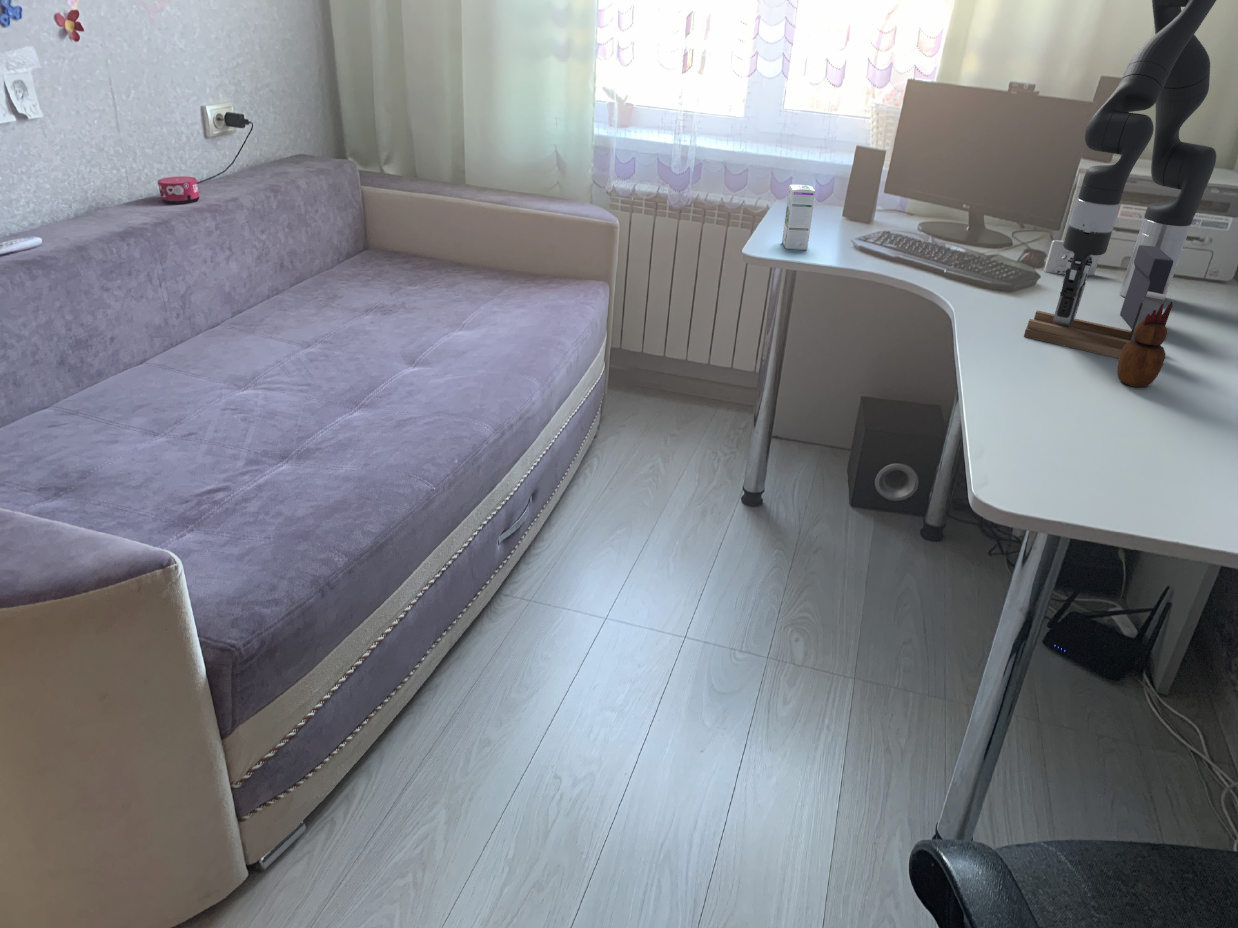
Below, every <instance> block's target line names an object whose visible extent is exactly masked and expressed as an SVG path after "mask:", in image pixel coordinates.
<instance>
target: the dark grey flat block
mask: <svg viewBox="0 0 1238 928" xmlns="http://www.w3.org/2000/svg"><path fill="white" fill-rule="evenodd" d="M1134 265H1135V269H1134V272H1133V275H1132V278H1131V281H1130V285H1129V288H1128V291H1127V294H1126V297H1124V300H1123V304H1122V306H1121V309H1120V312H1119V315H1120V317H1121V318H1122V319H1123V320H1124V321H1125V323H1126V324H1127V325H1128V327H1130V328H1131V329H1132V328H1133V325H1134V322H1135V319H1136V316H1137V313H1138V310H1139V307H1140V304H1141V302H1142V300H1143V299H1145V296H1146V294H1147V292H1148V291H1149V292H1154V293H1159V294H1165V291H1166V289H1167V286H1168V282H1167V281H1168V280H1169V277H1170V274H1171V271H1172V268H1173V265H1174V262H1173V260H1172V259H1171V258H1170V257H1169V256H1168V255H1166V254H1165V253H1164V252H1163V251H1162V250H1161V249H1159V248H1158V247H1154V246H1144V245H1139V247H1138V250H1137V253H1136V256H1135V260H1134Z"/></svg>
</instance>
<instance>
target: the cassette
mask: <svg viewBox="0 0 1238 928" xmlns="http://www.w3.org/2000/svg"><path fill="white" fill-rule="evenodd" d="M1063 243H1064V240H1057V239H1056V240H1054V239H1053V240H1051V243H1050V247H1049V251H1048V255H1047V258H1046V262H1045V266H1044V269H1043V272H1045V273H1049V274H1058V275H1059V274H1060V275H1065V272H1066V270H1067V269H1066V265H1067V262H1068V260H1070V255H1074V252H1072V251H1069V250H1066V249H1065V248H1064V247H1063ZM1090 257H1092V261H1093V263H1092V267H1091V269H1090V270H1089V272H1088V276H1094V275H1095V274H1096V271H1097V267H1098V264H1099V261H1100V257H1101V255H1091V256H1090Z"/></svg>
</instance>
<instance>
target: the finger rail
mask: <svg viewBox="0 0 1238 928" xmlns="http://www.w3.org/2000/svg"><path fill="white" fill-rule="evenodd" d="M1164 298H1165V299H1166V297H1165V295H1164V294H1159V293H1154V292H1149V291H1148V292H1147V294H1146V296H1145V299H1143V300H1142V302H1141V304H1140V307H1139V310H1138V313H1137V316H1136V319H1135V322H1134V325H1133V328H1131V330H1129V329H1124V328H1120V327H1115V326H1112V325H1111V326H1110V325H1106V324H1102V323H1097V322H1093V321H1087V320H1082V319H1079V318H1075V319H1074V320H1073V321H1072V323H1071V325H1070V326H1069V327H1064V326H1060V325H1055V324H1052V322H1053V318H1054V315H1055V313H1052V312H1046V311H1041V310H1036V311H1035V313H1034V317H1033V319H1031V318H1029V319H1028V322H1027V326H1026V328H1025V331H1024V334H1023V337H1024V338H1029V339H1032V340H1033V339H1034V340H1037V341H1041V342H1046V343H1050V344H1055V345H1059V346H1064V347H1068V348H1072V349H1077V350H1080V351H1086V352H1090V353H1094V354H1097V355H1102V356H1106V357H1111V358H1116V359H1119V356H1120V353H1121V350H1122V348H1123V346H1124V345H1125V344H1126V343H1128V342H1129V341H1133V340H1135V339H1134V337H1133V334H1134V330H1135V327H1136V326H1137V324H1139V323H1141V322H1142V321H1144V319H1145V317H1146V316H1147V314H1150V316H1151V314H1152V312H1153V310H1156V314H1157V312H1158V310H1159V308H1160V306H1161V304H1163V305H1164V302H1165V300H1164ZM1163 301H1164V302H1163ZM1160 346H1162V344H1161V345H1160Z"/></svg>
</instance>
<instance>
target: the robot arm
mask: <svg viewBox="0 0 1238 928" xmlns="http://www.w3.org/2000/svg"><path fill="white" fill-rule="evenodd" d="M1216 2H1217V0H1151V3H1152V5H1151V7H1152V15H1153V24H1154V33H1155V34H1154V35H1153V36H1151V37H1150V38H1149V39H1148V40H1147V41H1146V42H1144V44H1142V46H1140V48H1138V50H1137V51H1136V52H1135V53H1134V54H1133V56H1132V58H1131V59H1130V61H1129V63H1128V65H1127V67H1126V69H1125V71H1124V73H1123V75H1122V77H1121V79H1120V81H1119V83H1118V85H1117V87H1116V88H1115V90H1114V91H1113V92H1112V94H1111V95H1110V96H1109V97H1108V98H1107V99H1106V100H1105V102H1104V103H1103V104H1102V105H1101V106H1100V107H1099V109H1097V111H1096V112H1095V114H1093V116H1092V117H1091V119H1090V120H1089V122H1088V123H1087V126H1086V127H1085V132H1084V143H1085V145H1086V146H1087V148H1088V149H1090V150H1092V151H1095V152H1102V153H1109V154H1113V155H1120V158H1119V160H1118V161H1117V162H1115V163H1114V164H1101V165H1093V166H1090V167H1088V168H1087V169H1086V171H1085V173H1084V176H1083V179H1082V183H1081V186H1080V189H1079V193H1078V197H1077V199H1076V202H1075V205H1074V206H1073V208H1072V213H1071V215H1070V216H1071V217H1070V219H1069V223H1068V227H1067V231H1066V233H1065V237H1064V240H1063V241H1064V243H1063V247H1064V248H1065V249H1066V250H1069V251H1072V252H1074V254H1073V256H1071V257H1069V259H1070V260H1068V262H1067V265H1066V269H1067V270H1066V272H1065V274H1064V276H1063V280H1062V286H1061V291H1060V292H1059V294H1061V295H1060V296H1061V297H1062V298H1061V302H1060V305H1059V309H1058V312H1057V315H1058V316H1059V317H1064V318H1068V317H1069V316H1070V313H1071V309H1072V306H1073V303H1074V300H1075V298H1076V297H1077V295H1076V294H1077V291H1078V288H1080V287H1082V285H1083V282H1086V281H1087V279H1088V276H1089V275H1088V272H1089V270H1090V269H1091V267H1092V263H1093V261H1092V257H1090V256H1091V255H1100V256H1102V255H1105V254H1106V252H1107V250H1108V246H1109V245H1110V243H1109V242H1110V240H1111V237H1112V234H1113V230H1114V228H1115V224H1116V221H1117V217H1118V212H1119V207H1120V203H1121V199H1122V197H1123V193H1124V190H1125V187H1126V184H1127V180H1128V178H1129V176H1130V174H1131V173H1132V171H1133V169H1134V167H1135V165H1136V163H1137V162H1138V160H1139V159H1140V157H1141V156H1142V153H1144V151H1145V150H1146V148H1147V146H1148V145H1149V143H1150V141H1151V139H1152V137H1153V134H1154V139H1153V144H1152V145H1153V146H1152V155H1151V165H1150V174H1151V179H1152V181H1153V182H1154V183H1155V184H1157V185H1159V186H1162V187H1166V188H1171V189H1176V190H1180V193H1179V194H1178V195H1177V197H1176V198H1175V199H1171V200H1169V201H1168V200H1167V201H1161V202H1154V203H1150V204H1149V205H1148V206H1147V208H1146V210H1145V213H1144V216H1143V219H1142V222H1141V226H1140V228H1139V232H1138V235H1137V238H1136V242H1135V244H1134V248H1133V251H1132V253H1131V257H1130V260H1129V262H1128V266H1127V269H1126V271H1125V275H1124V278H1123V281H1122V284H1121V287H1120V290H1119V295H1120V296H1122V297H1124V298H1125V297H1126V294H1127V291H1128V288H1129V285H1130V281H1131V278H1132V275H1133V272H1134V269H1135V265H1134V260H1135V256H1136V253H1137V250H1138V247H1139V245H1144V246H1154V247H1158V248H1159V249H1161V250H1162V251H1163V252H1164V253H1165V254H1166V255H1168V256H1169V257H1170V258H1171V259H1172V260H1173V262H1174V265H1173V268H1172V271H1171V274H1170V277H1169V280H1168V281H1167V282H1168V286H1167V289H1166V291H1165V294H1164V295H1165V298H1164V301H1163V303H1165V301H1166V296H1167V294H1168V292H1169V288H1170V286H1171V284H1172V281H1173V278H1174V275H1175V272H1176V269H1177V265H1178V263H1179V260H1180V258H1181V255H1182V252H1183V249H1184V246H1185V243H1186V241H1187V237H1188V235H1189V232H1190V228H1191V226H1192V223H1193V219H1194V218H1195V215H1196V213H1197V211H1198V210H1199V207H1200V204H1201V202H1202V199H1203V197H1204V195H1205V192H1206V189H1207V186H1208V184H1209V181H1210V179H1211V177H1212V174H1213V172H1214V169H1215V165H1216V162H1217V152H1216V149H1215V148H1213V147H1211V146H1208V145H1203V144H1202V145H1201V144H1198V143H1190V142H1184V141H1181V140H1180V130H1181V127H1182V126H1183V124H1184V123H1185V122H1186V121H1187V120H1188V119H1189V118H1190V117H1191V116H1192V115H1193V114H1194V112H1196V111H1197V109H1199V107H1200V106H1201V105H1202V104H1203V102H1204V101H1205V100H1206V98H1207V96H1208V93H1209V89H1210V78H1211V76H1210V75H1211V60H1210V59H1211V58H1210V55H1209V54H1208V52H1207V50H1206V47H1204V45H1203V44H1202V42H1201V41H1200V40H1199V38H1198V37H1197V36H1196V35H1195V34H1196V32H1197V31H1198V29H1199V28H1200V26H1201V25H1202V23H1203V22H1204V21H1205V19H1206V17H1207V16H1208V14H1209V13H1210V11H1211V10H1212V8H1213V7H1214V6H1215V4H1216ZM1182 8H1183V9H1182ZM1153 106H1155V122H1154V121H1153V119H1152V118H1151V117H1150V116H1149V115H1147V114H1143V113H1135V112H1141V111H1145V110H1149V109H1150V108H1153ZM1154 123H1155V126H1154ZM1154 127H1155V128H1154ZM1080 278H1081V280H1080V282H1079V279H1080ZM1067 287H1070V288H1073V292H1072V291H1067ZM1060 296H1059V297H1060Z"/></svg>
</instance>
